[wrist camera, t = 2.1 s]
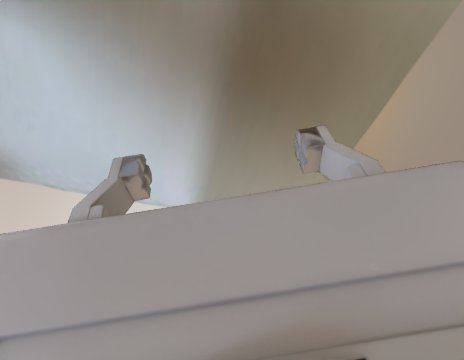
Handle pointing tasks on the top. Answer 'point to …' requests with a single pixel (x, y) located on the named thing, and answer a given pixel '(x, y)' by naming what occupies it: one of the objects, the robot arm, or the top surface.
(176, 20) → the top surface
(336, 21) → the top surface
